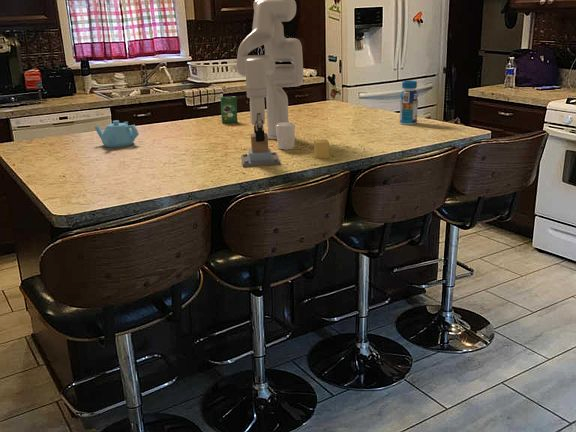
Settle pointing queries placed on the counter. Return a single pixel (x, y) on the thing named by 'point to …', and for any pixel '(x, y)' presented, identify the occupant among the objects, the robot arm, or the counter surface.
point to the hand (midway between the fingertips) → (259, 138)
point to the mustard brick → (321, 148)
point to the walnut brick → (259, 144)
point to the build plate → (260, 163)
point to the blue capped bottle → (408, 103)
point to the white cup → (285, 135)
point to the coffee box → (229, 109)
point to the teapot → (117, 134)
